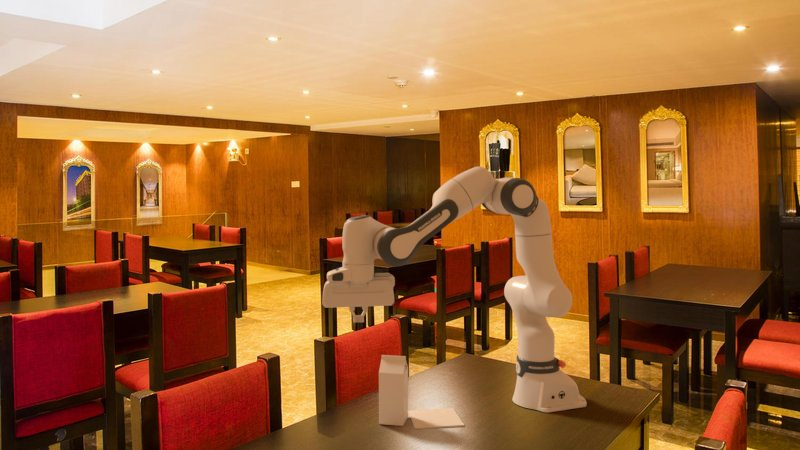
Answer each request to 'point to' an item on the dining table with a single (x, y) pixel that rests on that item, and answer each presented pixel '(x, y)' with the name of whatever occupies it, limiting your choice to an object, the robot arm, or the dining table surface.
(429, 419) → the mat
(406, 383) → the milk carton
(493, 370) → the dining table surface
